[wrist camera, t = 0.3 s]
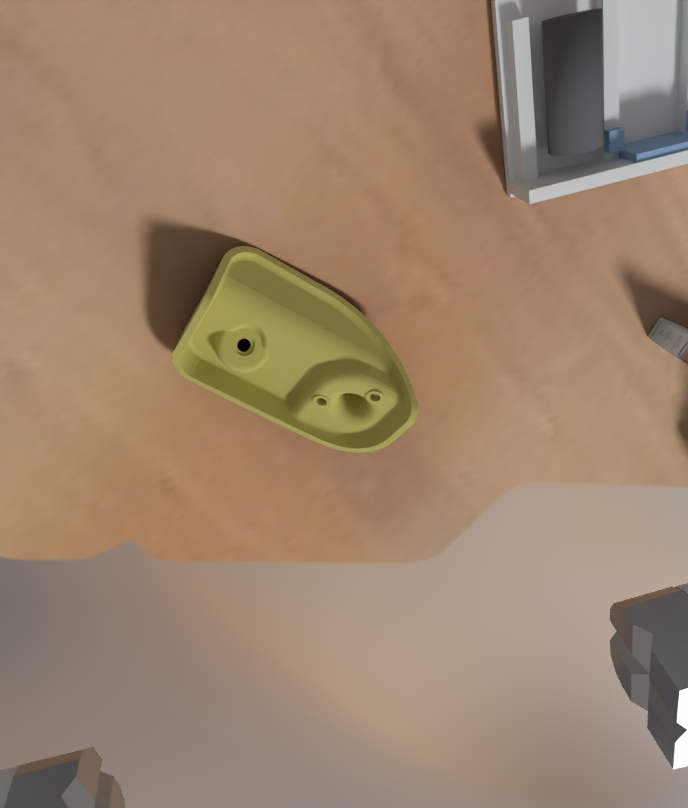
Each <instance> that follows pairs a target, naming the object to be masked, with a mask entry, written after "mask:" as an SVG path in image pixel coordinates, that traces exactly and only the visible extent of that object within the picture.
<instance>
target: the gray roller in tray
mask: <svg viewBox="0 0 688 808" xmlns="http://www.w3.org/2000/svg"><path fill="white" fill-rule="evenodd" d="M542 42H543V62H544V82H545V102H546V122H547V142H548V154H549V155H553V156H569V155H577V154H582V153H587V152H591V151H594V150H596V149H599V148H601V147H602V146H603V63H602V8H599V9H592V10H586V11H581V12H576V13H571V14H567V15H562V16H558V17H554V18H551V19H547V20H544V21H542Z"/></svg>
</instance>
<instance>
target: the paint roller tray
mask: <svg viewBox="0 0 688 808" xmlns="http://www.w3.org/2000/svg"><path fill="white" fill-rule="evenodd" d="M491 8H492V20H493V32H494V44H495V56H496V68H497V80H498V92H499V104H500V117H501V129H502V141H503V153H504V165H505V177H506V189H507V196H509V197H513V196H516V197H518V198H520V199H521V200H523V201H525V202H527V203H529V204H532V203H535V202H539V201H543V200H547V199H551V198H555V197H559V196H563V195H567V194H571V193H575V192H579V191H583V190H586V189H590V188H594V187H598V186H602V185H606V184H610V183H614V182H618V181H622V180H626V179H630V178H633V177H637V176H641V175H645V174H649V173H653V172H657V171H661V170H665V169H669V168H673V167H677V166H681V165H684V164H688V0H491ZM599 8H602V63H603V146H602V147H601V148H599V149H596V150H594V151H591V152H587V153H582V154H577V155H569V156H553V155H549V154H548V142H547V122H546V102H545V82H544V62H543V42H542V21H544V20H547V19H551V18H554V17H558V16H562V15H567V14H571V13H576V12H581V11H586V10H592V9H599Z"/></svg>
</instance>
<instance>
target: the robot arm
mask: <svg viewBox="0 0 688 808" xmlns="http://www.w3.org/2000/svg"><path fill="white" fill-rule="evenodd" d="M610 621H611V623H612V624H613V626H614V628H615V629H616V633H615V634H614V636H613V637H612V638H611V640H610V651H611V658H612V661H613V664H614V668H615V671H616V674H617V676H618V678H619V680H620V682H621V684H622V687H623V688H624V690H625V692H626V693H627V695H628V697H629V698H630V700H631V701H632V702H634V703H635V704H637V705H639V706H640V707H642V708H644V709H646V710H647V711H648V726H647V728H648V730H649V731H650V733H651V734H652V736H653V738H654V739H655V741H656V742H657V744H658V746H659V747H660V749H661V750H662V752H663V754H664V755H665V757H666V759H667V760H668V762H669V763H670V765H671V767H672V768H673V769H677V768H681V767H685V766H688V583H687V584H683V585H680V586H676V587H669V588H666V589H662V590H659V591H655V592H652V593H648V594H645V595H642V596H638V597H634V598H631V599H628V600H624V601H621V602H617V603H614V604H613V605H612V607H611V609H610ZM101 763H102V759H101V757H100V756H99V755H98V753H97V752H96V751H95V749H94V748H93V747H91V748H87V749H83V750H79V751H75V752H71V753H67V754H63V755H59V756H55V757H51V758H47V759H43V760H39V761H35V762H30V763H26V764H22V765H18V766H15V767H11V768H7V769H3V770H0V808H125V804H124V798H123V794H122V791H121V788H120V785H119V784H118V782H117V781H116V779H115V778H114V776H112V775H109V774H106V773H103V772H101V771H100V770H101Z"/></svg>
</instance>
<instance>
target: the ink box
mask: <svg viewBox="0 0 688 808" xmlns="http://www.w3.org/2000/svg"><path fill="white" fill-rule="evenodd" d="M648 337H649V338H650V339H651V340H652V341H654V342H655V343H656V344H658V345H659V346H661V347H662V348H663V349H665V350H666V351H668V352H669V353H671V354H672V355H673V356H675V357H676V358H678V359H680V360H681V361H683V362H684V363H685V364H687V365H688V329H687V328H685V327H683V326H681V325H679V324H676V323H674V322H672V321H669V320H667V319H665V318H662V317H660V318H659V319H658V321H657V322H656V324H655V325H654V327H653V329H652V330H651V332H650V333H649V335H648Z"/></svg>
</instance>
